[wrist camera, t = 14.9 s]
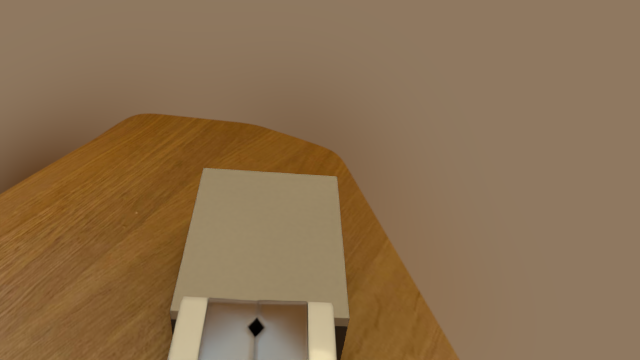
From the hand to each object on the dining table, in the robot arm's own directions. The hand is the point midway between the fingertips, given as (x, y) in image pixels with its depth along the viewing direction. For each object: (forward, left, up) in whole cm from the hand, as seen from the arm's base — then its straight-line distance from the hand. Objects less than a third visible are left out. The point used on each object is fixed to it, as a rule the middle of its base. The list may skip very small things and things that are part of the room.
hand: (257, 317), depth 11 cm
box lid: (0, -26, -23) cm, 34 cm away
